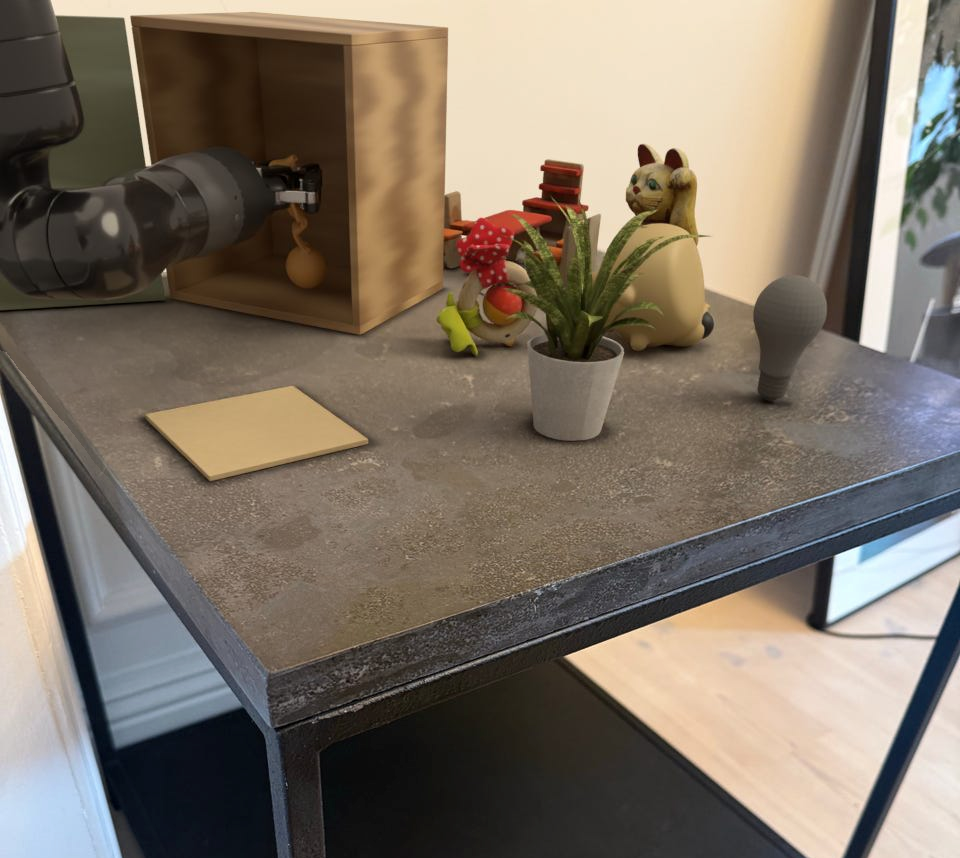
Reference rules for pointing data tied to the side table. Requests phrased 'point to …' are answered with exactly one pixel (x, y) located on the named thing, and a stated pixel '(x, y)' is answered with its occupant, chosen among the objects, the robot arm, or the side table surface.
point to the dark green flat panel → (95, 131)
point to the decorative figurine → (664, 189)
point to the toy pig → (663, 291)
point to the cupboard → (310, 153)
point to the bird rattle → (487, 268)
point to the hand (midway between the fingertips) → (298, 173)
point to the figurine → (302, 245)
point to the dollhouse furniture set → (533, 218)
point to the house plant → (578, 327)
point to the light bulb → (786, 329)
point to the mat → (253, 432)
